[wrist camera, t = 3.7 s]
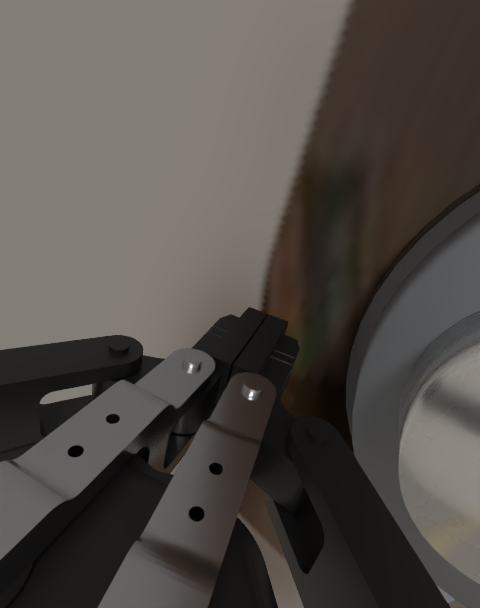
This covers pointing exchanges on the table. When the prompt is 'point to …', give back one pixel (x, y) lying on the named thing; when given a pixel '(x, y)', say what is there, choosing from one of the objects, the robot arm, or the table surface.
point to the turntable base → (396, 274)
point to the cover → (444, 445)
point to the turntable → (394, 370)
